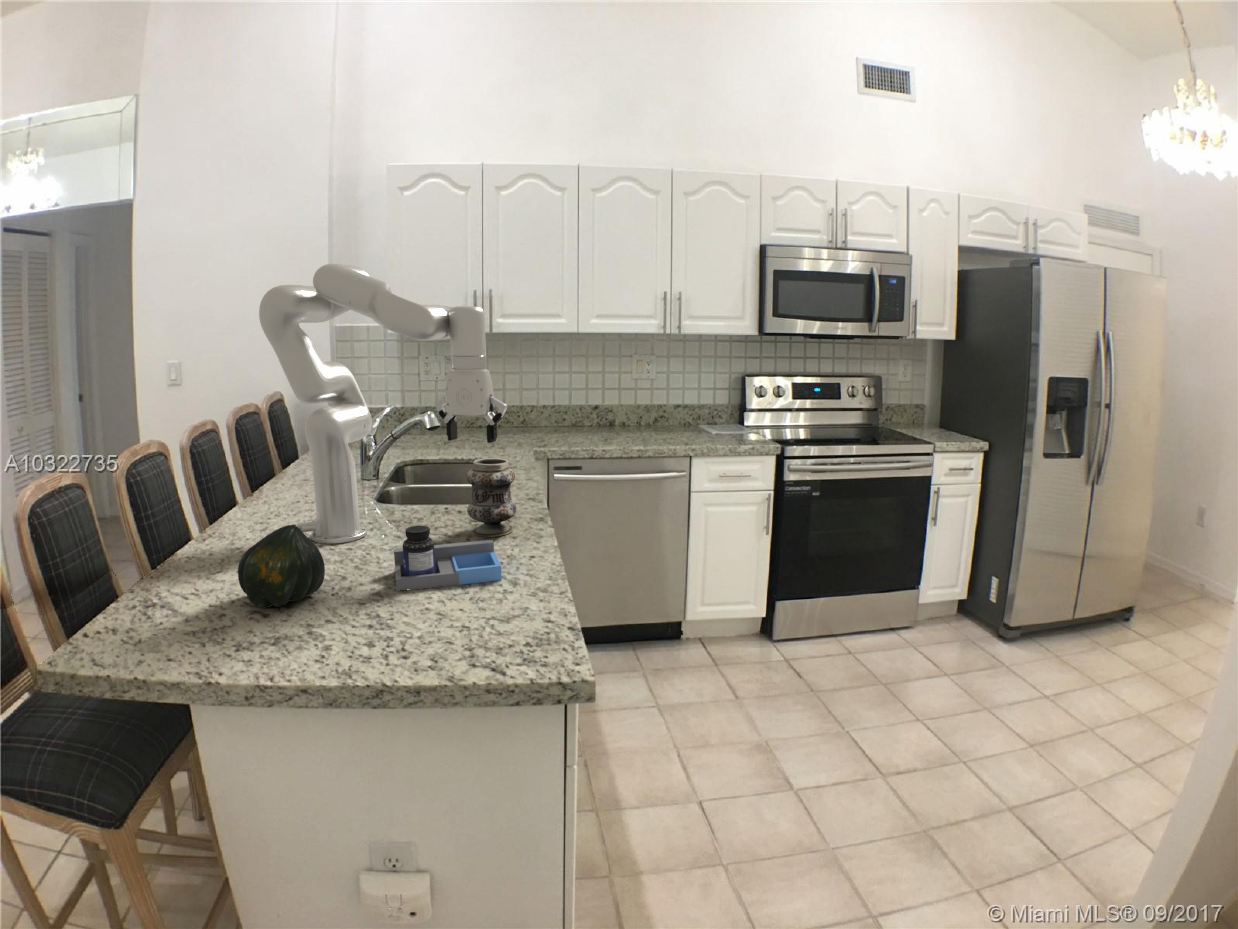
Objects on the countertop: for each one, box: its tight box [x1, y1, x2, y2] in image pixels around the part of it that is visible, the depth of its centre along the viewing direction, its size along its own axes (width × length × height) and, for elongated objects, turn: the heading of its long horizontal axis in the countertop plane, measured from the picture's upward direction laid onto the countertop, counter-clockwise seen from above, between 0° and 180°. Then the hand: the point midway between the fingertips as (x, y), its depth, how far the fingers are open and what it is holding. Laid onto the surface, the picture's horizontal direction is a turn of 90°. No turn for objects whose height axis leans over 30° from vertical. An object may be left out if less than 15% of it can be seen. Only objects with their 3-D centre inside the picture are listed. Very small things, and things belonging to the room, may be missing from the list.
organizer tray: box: [393, 539, 503, 592], centre depth 146 cm, size 20×12×5 cm, turn 108°
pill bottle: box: [402, 524, 436, 577], centre depth 143 cm, size 6×6×11 cm
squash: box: [237, 523, 326, 609], centre depth 133 cm, size 14×15×15 cm
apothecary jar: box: [466, 457, 517, 538], centre depth 175 cm, size 12×12×18 cm
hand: (472, 440), depth 158 cm, fingers open, 9 cm apart
